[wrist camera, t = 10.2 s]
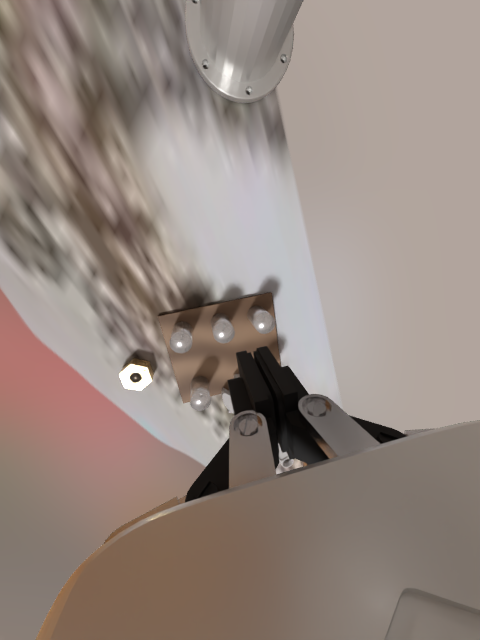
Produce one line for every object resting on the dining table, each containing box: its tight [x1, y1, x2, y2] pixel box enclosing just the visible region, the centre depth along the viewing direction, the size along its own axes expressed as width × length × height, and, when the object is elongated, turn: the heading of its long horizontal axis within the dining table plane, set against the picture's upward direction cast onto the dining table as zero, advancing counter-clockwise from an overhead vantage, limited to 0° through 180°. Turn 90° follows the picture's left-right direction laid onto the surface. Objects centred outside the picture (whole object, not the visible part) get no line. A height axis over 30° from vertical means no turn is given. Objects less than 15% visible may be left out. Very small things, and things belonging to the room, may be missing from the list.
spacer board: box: [158, 292, 280, 403], centre depth 39 cm, size 16×18×1 cm
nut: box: [119, 358, 154, 391], centre depth 37 cm, size 4×5×2 cm
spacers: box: [170, 305, 275, 410], centre depth 37 cm, size 13×15×5 cm
